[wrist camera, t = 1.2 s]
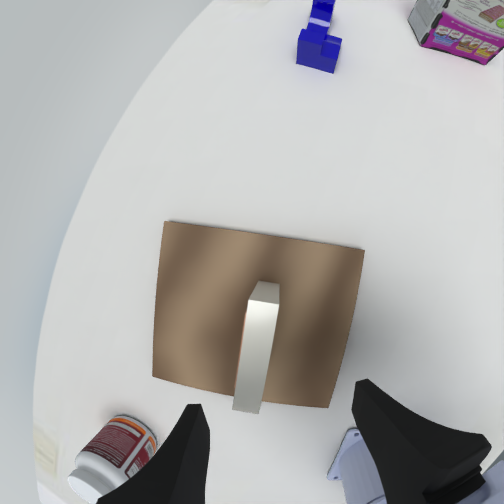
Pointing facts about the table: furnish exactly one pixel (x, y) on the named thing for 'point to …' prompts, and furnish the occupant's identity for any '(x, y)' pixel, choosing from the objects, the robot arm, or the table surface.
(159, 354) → the board
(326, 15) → the cable holder
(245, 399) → the tile
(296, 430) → the table surface
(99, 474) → the pill bottle
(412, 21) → the candy bar box
